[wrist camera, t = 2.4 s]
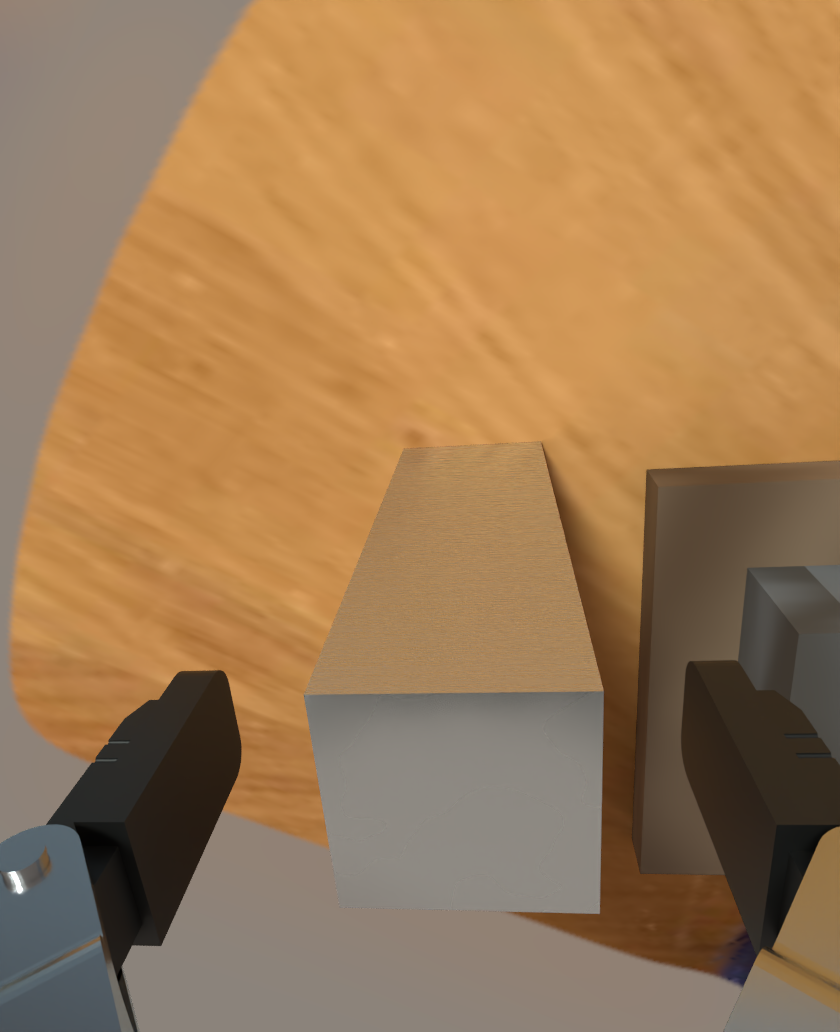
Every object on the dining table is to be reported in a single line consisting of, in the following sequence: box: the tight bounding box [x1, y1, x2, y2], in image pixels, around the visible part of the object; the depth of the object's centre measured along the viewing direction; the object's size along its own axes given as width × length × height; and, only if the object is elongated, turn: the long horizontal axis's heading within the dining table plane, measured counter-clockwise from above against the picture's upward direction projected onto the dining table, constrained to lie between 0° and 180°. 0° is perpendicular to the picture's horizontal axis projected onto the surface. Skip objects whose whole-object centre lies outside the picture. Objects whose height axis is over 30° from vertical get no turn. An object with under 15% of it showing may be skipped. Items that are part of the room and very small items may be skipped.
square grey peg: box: [304, 442, 604, 914], centre depth 16 cm, size 4×4×12 cm
